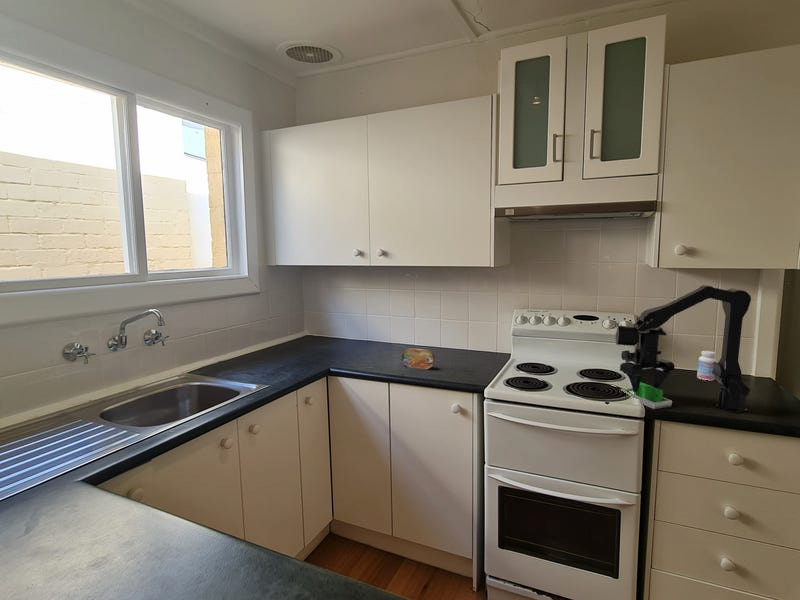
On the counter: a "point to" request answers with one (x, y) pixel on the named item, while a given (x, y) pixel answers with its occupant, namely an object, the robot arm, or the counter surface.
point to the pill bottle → (706, 366)
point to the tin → (418, 358)
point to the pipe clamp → (649, 392)
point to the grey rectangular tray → (649, 403)
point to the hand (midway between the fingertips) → (645, 390)
